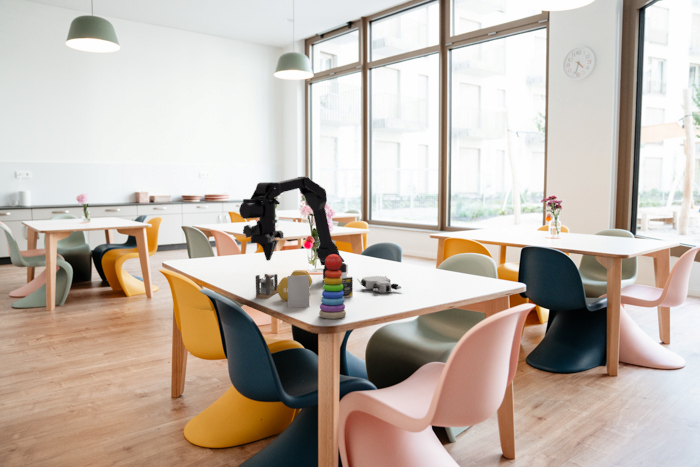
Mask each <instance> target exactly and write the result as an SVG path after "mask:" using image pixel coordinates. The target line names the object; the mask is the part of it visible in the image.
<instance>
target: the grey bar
mask: <svg viewBox="0 0 700 467" xmlns="http://www.w3.org/2000/svg"><path fill="white" fill-rule="evenodd" d="M269 275H270V279H274V275H275V274H269ZM259 282H260V284H261V283H266V276H265V275H264V277H262V278H260V279H259Z"/></svg>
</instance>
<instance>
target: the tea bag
mask: <svg viewBox="0 0 700 467" xmlns="http://www.w3.org/2000/svg"><path fill="white" fill-rule="evenodd" d="M309 275H310V274H309ZM309 275H301V276H291V275H288V276H287V277H288V301H287V307H288V309H290V308H308V307H310V306H311V305H310V287H309Z"/></svg>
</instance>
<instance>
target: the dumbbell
mask: <svg viewBox="0 0 700 467" xmlns="http://www.w3.org/2000/svg"><path fill="white" fill-rule="evenodd" d="M301 275H309V288H310V287H311V286H312V283H313V279H312V277H311V275H310V274H309V272H308V271H307V270H304V269H302V270H301V269H295V270H294V271H293V272H291V274H290V276H301ZM277 292H278V293H277V294H278V296H279V297H280V299H281V301H284V302H288V276H284V277H282V278H281V279H280V281H279V283H278V286H277Z"/></svg>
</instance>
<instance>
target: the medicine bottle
mask: <svg viewBox="0 0 700 467" xmlns="http://www.w3.org/2000/svg"><path fill="white" fill-rule="evenodd" d="M348 267H349V265H348V263H347V262H345V261H344V262H342V265H341V267H340V269H339V270H340V271H341V272H342V275H341V277H340V278H342V283H341V284H342V285H343V289H342V291H343V292H344V295H343V297H344V298H348V297H353V291H354V290H353V289H354V288H353V286H354V285H353V276H352V275H348V273H349V272H348V270H349V268H348Z"/></svg>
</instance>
